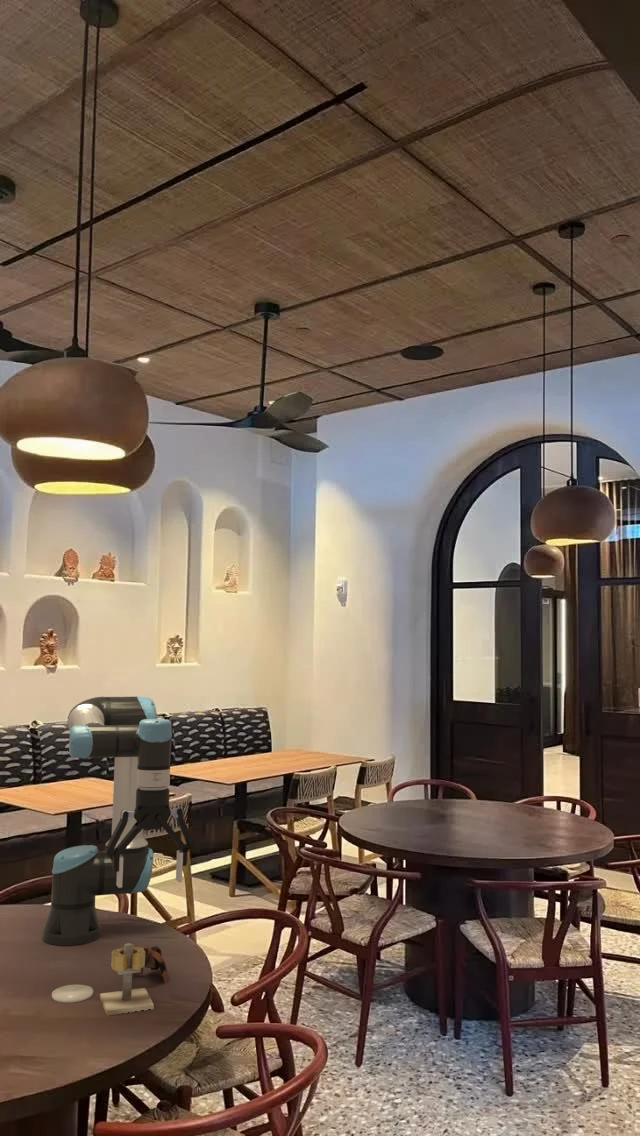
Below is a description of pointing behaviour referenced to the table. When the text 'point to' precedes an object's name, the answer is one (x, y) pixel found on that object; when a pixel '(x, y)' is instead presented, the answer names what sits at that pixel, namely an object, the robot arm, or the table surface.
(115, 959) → the c link
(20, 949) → the table surface
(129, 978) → the peg stand
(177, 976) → the table surface
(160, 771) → the robot arm
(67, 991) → the coaster
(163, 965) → the brown black curved arch
